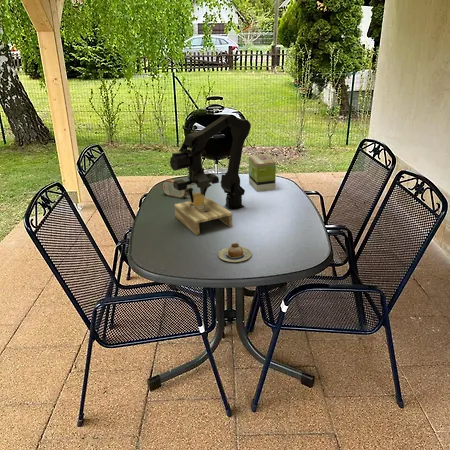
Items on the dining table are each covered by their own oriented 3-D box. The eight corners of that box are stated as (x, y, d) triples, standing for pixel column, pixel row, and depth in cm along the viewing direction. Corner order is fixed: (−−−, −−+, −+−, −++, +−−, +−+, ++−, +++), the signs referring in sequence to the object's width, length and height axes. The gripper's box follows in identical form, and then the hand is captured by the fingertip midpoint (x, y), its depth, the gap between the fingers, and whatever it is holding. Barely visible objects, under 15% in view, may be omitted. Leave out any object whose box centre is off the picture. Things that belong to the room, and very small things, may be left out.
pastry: (255, 262, 150) (255, 250, 148) (221, 266, 148) (221, 254, 146) (247, 247, 161) (246, 236, 159) (215, 251, 159) (214, 239, 157)
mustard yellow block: (200, 208, 189) (199, 192, 186) (204, 211, 185) (204, 195, 182) (191, 210, 187) (190, 194, 184) (195, 213, 183) (194, 197, 180)
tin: (189, 198, 211) (188, 181, 208) (185, 200, 209) (184, 183, 206) (165, 193, 219) (164, 177, 216) (161, 195, 217) (160, 179, 213)
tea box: (248, 183, 229) (248, 156, 223) (266, 181, 231) (266, 154, 225) (257, 192, 216) (256, 163, 210) (276, 190, 218) (276, 161, 212)
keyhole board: (208, 209, 196) (207, 197, 194) (232, 226, 178) (231, 212, 176) (175, 217, 189) (174, 204, 187) (196, 235, 171) (195, 221, 169)
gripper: (182, 174, 167) (184, 211, 174) (224, 166, 175) (225, 202, 182) (171, 167, 176) (174, 203, 183) (211, 160, 184) (213, 195, 191)
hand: (197, 201), depth 184 cm, fingers closed on mustard yellow block, 4 cm apart
